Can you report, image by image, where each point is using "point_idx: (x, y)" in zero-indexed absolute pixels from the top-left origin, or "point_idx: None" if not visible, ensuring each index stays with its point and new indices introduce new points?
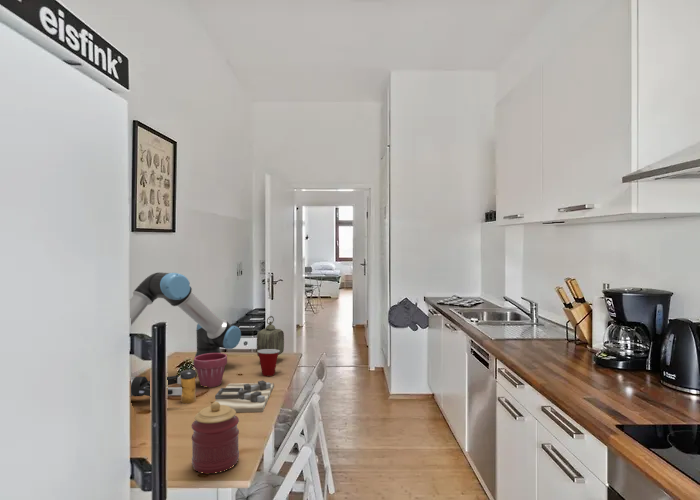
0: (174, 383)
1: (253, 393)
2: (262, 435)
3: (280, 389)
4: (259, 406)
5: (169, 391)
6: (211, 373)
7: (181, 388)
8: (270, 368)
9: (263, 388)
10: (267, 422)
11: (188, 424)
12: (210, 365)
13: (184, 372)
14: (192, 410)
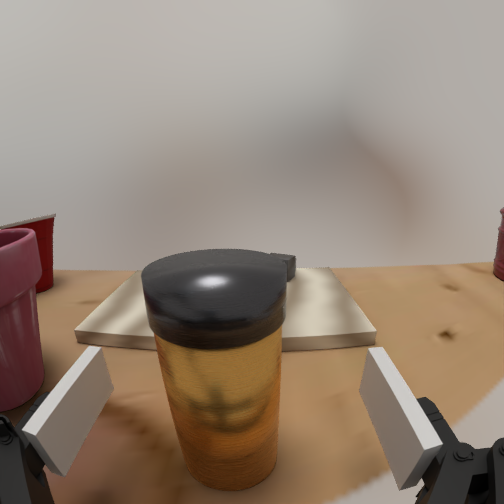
0: (50, 493)
1: (283, 258)
2: (426, 266)
3: None
4: (321, 270)
5: (434, 409)
6: (32, 314)
7: (375, 351)
8: (52, 263)
9: None
10: (377, 268)
11: (473, 351)
12: (30, 266)
13: (238, 275)
14: None
